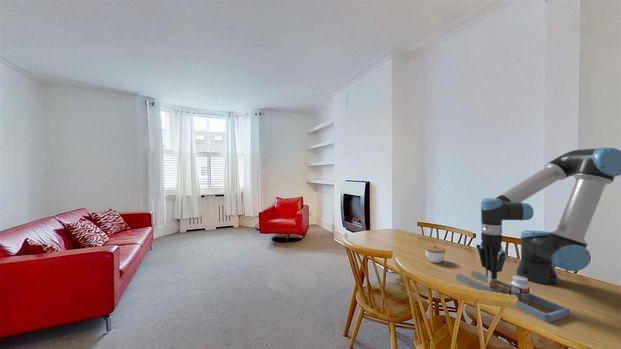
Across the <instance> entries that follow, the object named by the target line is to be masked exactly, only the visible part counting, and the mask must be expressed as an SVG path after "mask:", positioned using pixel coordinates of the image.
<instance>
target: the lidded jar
mask: <svg viewBox="0 0 621 349" xmlns="http://www.w3.org/2000/svg"><path fill="white" fill-rule="evenodd" d="M424 249H425V250H424V251H425V256H426V259H427V260H428V261H429V262H430V263H433V264H440V263H441V262H442V261H444V259H445V257H446V249H445V248H444V247H442V246H439V245H435V244H434V245H425V247H424Z"/></svg>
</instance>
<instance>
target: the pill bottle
mask: <svg viewBox="0 0 621 349" xmlns="http://www.w3.org/2000/svg"><path fill="white" fill-rule="evenodd" d="M528 282H529V280H528V279H527V278H525V277H523V276H518V275H517V274H516V275H515V274H514V275H512V281H511V282H510V285H511V295H516V296H517V297H518V301H519V302H521V303H523V304H526V305H528V306H529V304H530V300H529V293H530V285H529V284H528Z"/></svg>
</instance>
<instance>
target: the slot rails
mask: <svg viewBox="0 0 621 349" xmlns="http://www.w3.org/2000/svg"><path fill="white" fill-rule="evenodd" d="M470 273H471V274H470V276H471V277H473V278H475V279H477V280H480V281H482V282H483V283H487V284H488V277H487V276H486V274H483V273H482V272H479V271H477V270H471V272H470ZM455 277H456V280H457V281H459V282H461V283H464V284H465V285H467V286H469V287H471V288H473V289H476V290H478V289H479V290H478V291H480V290H485V291H490V292H496V293H502V292H500V291H497V290H495V289H493V288H491V287H490V286H489V285H486V284H483V283H481V282H480V281H477V280H474V279H472V278H470V277H468V276H466V275H464V274H461V273H456V276H455ZM495 280H497V281H499V282H502V283H504V284H506V285H509V286H511V284H509V283H506V282H504V281H500V280H498V279H495Z"/></svg>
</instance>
